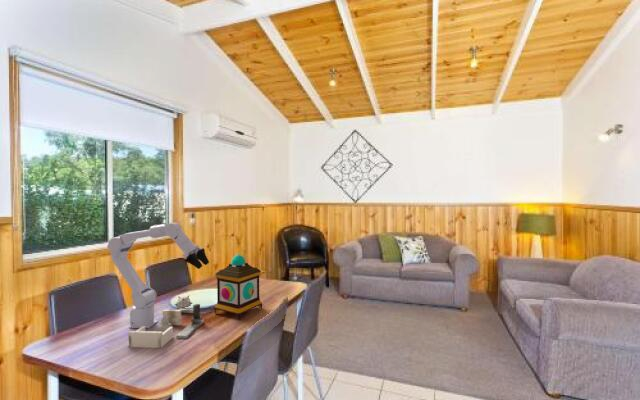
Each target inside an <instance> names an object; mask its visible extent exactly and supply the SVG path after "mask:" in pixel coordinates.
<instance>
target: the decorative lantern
mask: <svg viewBox="0 0 640 400" xmlns="http://www.w3.org/2000/svg"><path fill="white" fill-rule="evenodd" d="M261 273H262V270H260V269H259V268H258V267H254V266H251V264H249V262H246V259H245V257H244V256H243V255H241V254H236V255H234V256H233V258H232V259H231V263H229V264H228V265H227V266H226V267H224V268H223V269H219V270H218V271H217V272H216V273H214V276H215V277H216V281H217V282H216V283H217V286H216V289H217V299H216V300H217V302H216V305H214V314H215V315H218V314H219V311H221V312H226V313H230V314H233V315H236V316H237V321H240V320H241V317H242V315H243V314H244V313H246V312H248V311H251V310H253V309H255V308H257V307H258V309H259V310H260V311H261V310H262V309H263V303H262V301H261V298H260V275H261Z"/></svg>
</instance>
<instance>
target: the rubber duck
mask: <svg viewBox="0 0 640 400" xmlns="http://www.w3.org/2000/svg"><path fill="white" fill-rule="evenodd" d="M158 324H159V325H158V326H157V331H160V332H164V331H166V330H167V329H168V328H169V327H172V325H171V323H169V318H168V317H167V316H166V315H165V317H163V316H162V317H161V319H160V322H159V323H158Z"/></svg>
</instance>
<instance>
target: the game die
mask: <svg viewBox="0 0 640 400" xmlns="http://www.w3.org/2000/svg"><path fill="white" fill-rule="evenodd" d="M192 304H193V302H191V299H190V295H188V296H178V299H177V301H176V302H175V304H174V306H176V308H177V309H176V310H180V309H184V308H185V307H189V306H190V307H191V306H192ZM193 305H194V304H193Z"/></svg>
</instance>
